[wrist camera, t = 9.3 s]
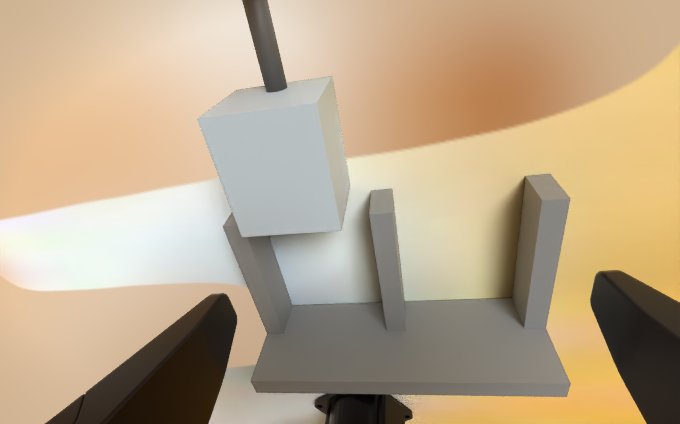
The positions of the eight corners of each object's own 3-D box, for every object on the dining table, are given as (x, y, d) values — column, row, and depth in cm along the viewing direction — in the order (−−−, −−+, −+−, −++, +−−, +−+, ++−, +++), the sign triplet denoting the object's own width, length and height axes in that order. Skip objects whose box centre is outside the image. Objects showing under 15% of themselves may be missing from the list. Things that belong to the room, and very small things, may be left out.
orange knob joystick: (350, 184, 21) (340, 237, 16) (267, 191, 21) (238, 243, 17) (298, -132, 13) (256, -181, 9) (178, -101, 14) (92, -133, 10)
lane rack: (529, 310, 24) (566, 396, 19) (280, 316, 27) (256, 392, 22) (550, 173, 19) (608, 244, 14) (238, 203, 22) (194, 268, 17)
